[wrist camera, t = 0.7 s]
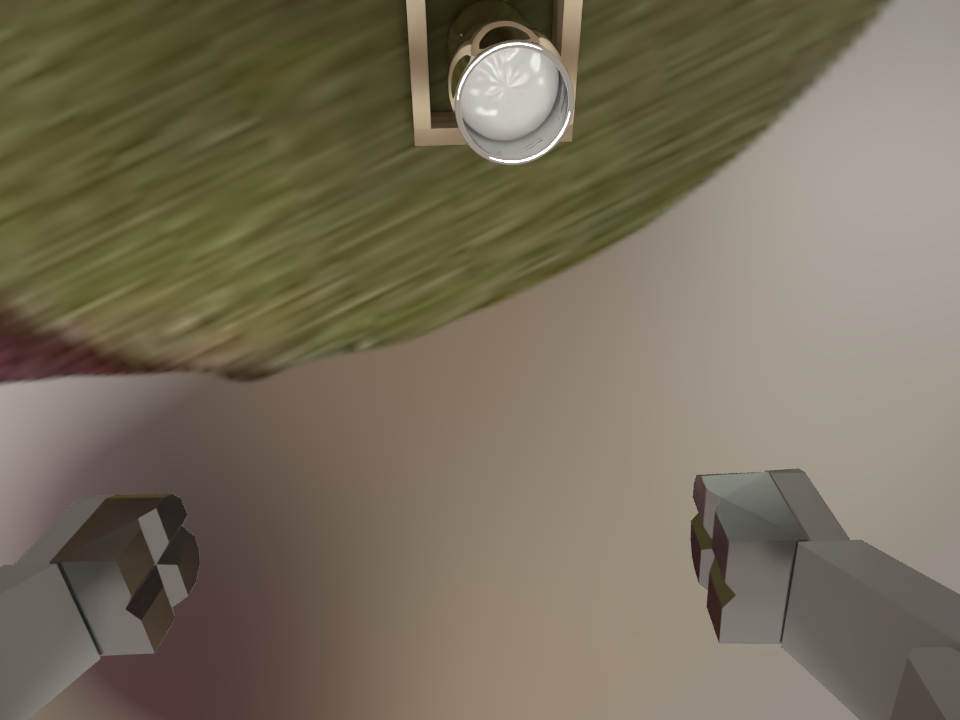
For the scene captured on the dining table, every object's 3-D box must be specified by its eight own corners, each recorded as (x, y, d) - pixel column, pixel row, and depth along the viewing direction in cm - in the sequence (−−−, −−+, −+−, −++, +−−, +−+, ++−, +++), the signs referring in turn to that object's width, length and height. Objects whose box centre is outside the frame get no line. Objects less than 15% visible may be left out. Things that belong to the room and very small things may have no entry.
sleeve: (404, -45, 45) (403, -38, 41) (573, -47, 45) (585, -40, 42) (414, 128, 51) (415, 145, 48) (561, 124, 52) (571, 141, 49)
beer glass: (527, -20, 46) (568, 20, 34) (544, 83, 50) (586, 152, 38) (429, 6, 47) (435, 56, 35) (454, 106, 51) (467, 182, 39)
